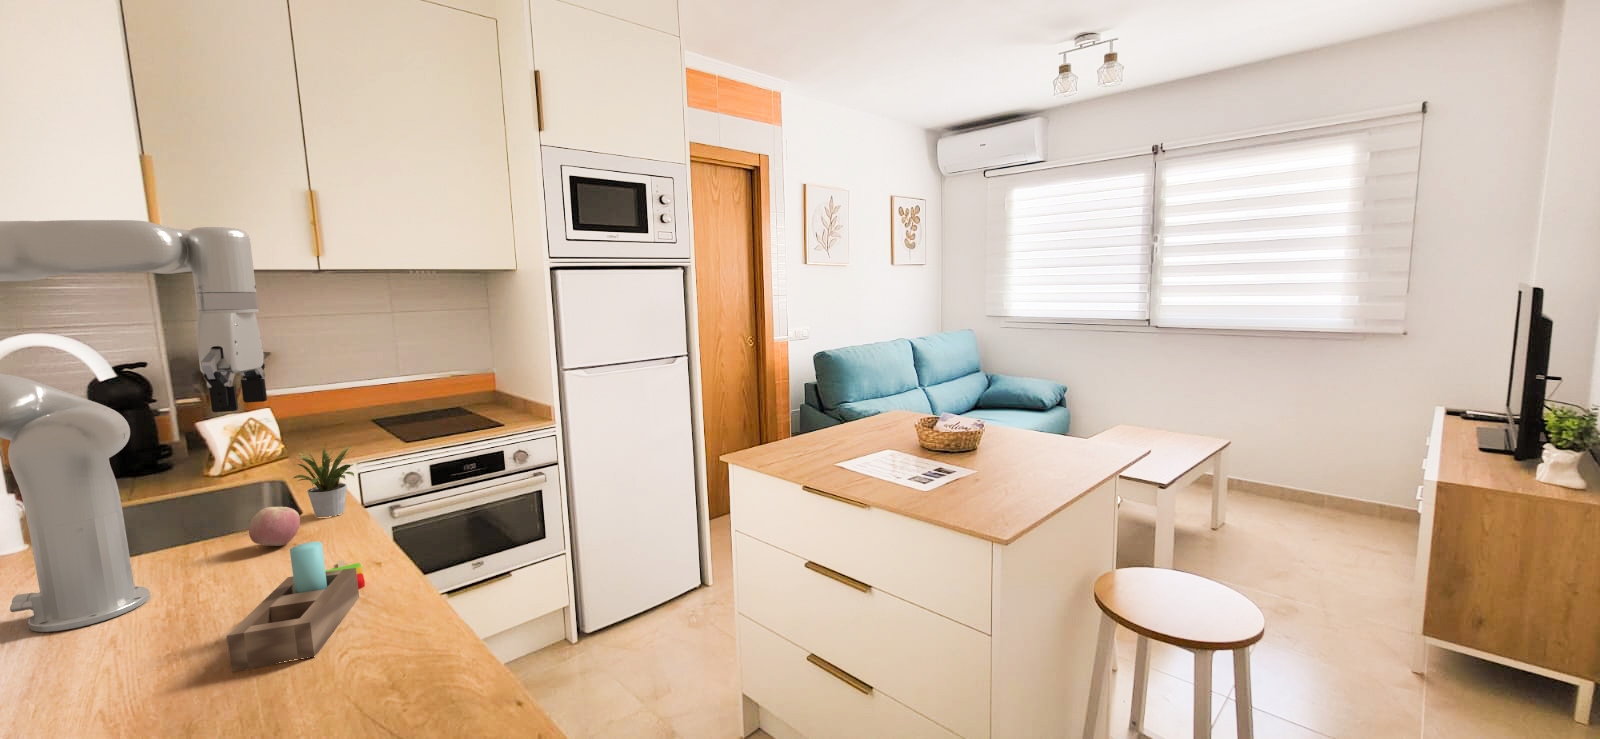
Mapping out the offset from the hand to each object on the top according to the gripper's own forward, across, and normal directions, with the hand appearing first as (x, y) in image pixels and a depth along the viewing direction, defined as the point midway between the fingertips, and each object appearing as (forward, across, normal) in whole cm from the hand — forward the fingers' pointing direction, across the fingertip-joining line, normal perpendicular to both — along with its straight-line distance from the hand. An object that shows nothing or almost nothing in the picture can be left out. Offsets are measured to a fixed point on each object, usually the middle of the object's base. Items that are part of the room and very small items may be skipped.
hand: (241, 406), depth 106 cm
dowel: (+30, +19, +14) cm, 39 cm away
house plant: (+30, -33, -2) cm, 45 cm away
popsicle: (+31, +5, +13) cm, 34 cm away
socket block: (+30, +24, +14) cm, 41 cm away
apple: (+31, -16, -4) cm, 35 cm away
